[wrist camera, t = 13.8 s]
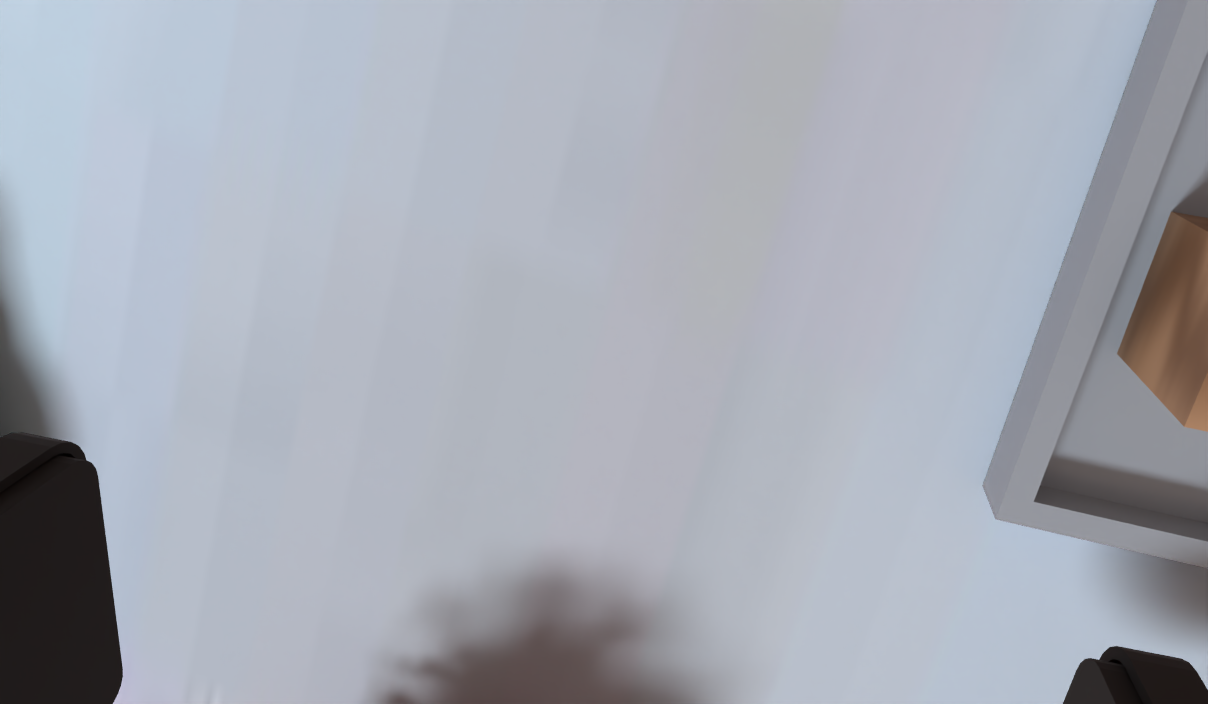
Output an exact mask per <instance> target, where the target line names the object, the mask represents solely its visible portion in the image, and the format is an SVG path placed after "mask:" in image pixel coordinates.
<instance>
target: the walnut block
mask: <svg viewBox="0 0 1208 704" xmlns="http://www.w3.org/2000/svg"><path fill="white" fill-rule="evenodd" d="M1117 354H1118V356H1119V357H1120V358H1121V359H1122V360H1123V361H1124V362H1125V363H1126V364H1127V365H1128V366H1129V367H1130V369H1131V370H1132V371H1133V372H1134V373H1135V374H1136V375H1137V376H1138V377H1139V378H1140V379H1141V381H1142V382H1143V383H1144V384H1145V385H1146V386H1147V387H1148V388H1149V389H1150V390H1151V391H1152V392H1153V394H1154V395H1155V396H1156V397H1157V398H1158V399H1159V400H1160V401H1161V402H1162V403H1163V404H1164V406H1165V407H1166V408H1167V409H1168V410H1169V411H1170V412H1171V413H1172V414H1173V415H1174V416H1175V418H1176V419H1177V420H1178V421H1179V422H1180V423H1181V424H1182V425H1183V426H1184V427H1187V428H1192V429H1197V430H1201V431H1206V432H1208V218H1205V217H1199V216H1194V215H1188V214H1182V213H1176V212H1171V213H1170V216H1169V218H1168V221H1167V223H1166V226H1165V229H1164V231H1163V234H1162V237H1161V239H1160V242H1159V244H1158V247H1157V250H1156V252H1155V255H1154V258H1153V260H1152V263H1151V265H1150V268H1149V271H1148V273H1147V276H1146V279H1145V281H1144V284H1143V286H1142V289H1141V292H1140V294H1139V297H1138V300H1137V302H1136V305H1135V307H1134V310H1133V313H1132V315H1131V318H1130V321H1129V323H1128V326H1127V328H1126V331H1125V334H1124V336H1123V339H1122V342H1121V344H1120V347H1119V349H1118V352H1117Z"/></svg>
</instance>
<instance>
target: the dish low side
mask: <svg viewBox="0 0 1208 704" xmlns="http://www.w3.org/2000/svg"><path fill="white" fill-rule="evenodd" d="M1171 212H1176V213H1182V214H1188V215H1194V216H1199V217H1205V218H1208V0H1157V2H1156V4H1155V7H1154V10H1153V13H1152V16H1151V18H1150V21H1149V24H1148V27H1147V30H1146V32H1145V35H1144V38H1143V41H1142V43H1141V46H1140V49H1139V52H1138V55H1137V57H1136V60H1135V63H1134V66H1133V69H1132V71H1131V74H1130V77H1129V80H1128V82H1127V85H1126V88H1125V91H1124V94H1123V96H1122V99H1121V102H1120V105H1119V107H1118V110H1117V113H1116V116H1115V119H1114V121H1113V124H1112V127H1111V130H1110V133H1109V135H1108V138H1107V141H1106V144H1105V146H1104V149H1103V152H1102V155H1101V158H1100V160H1099V163H1098V166H1097V169H1096V172H1095V174H1094V177H1093V180H1092V183H1091V185H1090V188H1089V191H1088V194H1087V197H1086V199H1085V202H1084V205H1083V208H1082V210H1081V213H1080V216H1079V219H1078V222H1077V224H1076V227H1075V230H1074V233H1073V236H1072V238H1071V241H1070V244H1069V247H1068V249H1067V252H1066V255H1065V258H1064V261H1063V263H1062V266H1061V269H1060V272H1059V275H1058V277H1057V280H1056V283H1055V286H1054V288H1053V291H1052V294H1051V297H1050V300H1049V302H1048V305H1047V308H1046V311H1045V314H1044V316H1043V319H1042V322H1041V325H1040V327H1039V330H1038V333H1037V336H1036V339H1035V341H1034V344H1033V347H1032V350H1031V352H1030V355H1029V358H1028V361H1027V364H1026V366H1025V369H1024V372H1023V375H1022V378H1021V380H1020V383H1019V386H1018V389H1017V391H1016V394H1015V397H1014V400H1013V403H1012V405H1011V408H1010V411H1009V414H1008V417H1007V419H1006V422H1005V425H1004V428H1003V430H1002V433H1001V436H1000V439H999V442H998V444H997V447H996V450H995V453H994V455H993V458H992V461H991V464H990V467H989V469H988V472H987V475H986V478H985V481H984V483H983V488H984V491H985V493H986V496H987V498H988V501H989V504H990V506H991V509H992V511H993V514H994V517H995V519H997V520H1001V521H1005V522H1010V523H1014V524H1018V525H1022V526H1027V527H1031V528H1035V529H1040V530H1044V531H1048V532H1053V533H1057V534H1061V535H1066V536H1070V537H1074V538H1079V539H1083V540H1087V541H1091V542H1096V543H1100V544H1104V545H1109V546H1113V547H1117V548H1122V549H1126V550H1130V551H1135V552H1139V553H1143V554H1147V555H1152V556H1156V557H1160V558H1165V559H1169V560H1173V561H1178V562H1182V563H1186V564H1191V565H1195V566H1199V567H1203V568H1208V432H1206V431H1201V430H1197V429H1192V428H1187V427H1184V426H1183V425H1182V424H1181V423H1180V422H1179V421H1178V420H1177V419H1176V418H1175V416H1174V415H1173V414H1172V413H1171V412H1170V411H1169V410H1168V409H1167V408H1166V407H1165V406H1164V404H1163V403H1162V402H1161V401H1160V400H1159V399H1158V398H1157V397H1156V396H1155V395H1154V394H1153V392H1152V391H1151V390H1150V389H1149V388H1148V387H1147V386H1146V385H1145V384H1144V383H1143V382H1142V381H1141V379H1140V378H1139V377H1138V376H1137V375H1136V374H1135V373H1134V372H1133V371H1132V370H1131V369H1130V367H1129V366H1128V365H1127V364H1126V363H1125V362H1124V361H1123V360H1122V359H1121V358H1120V357H1119V356H1118V354H1117V352H1118V349H1119V347H1120V344H1121V342H1122V339H1123V336H1124V334H1125V331H1126V328H1127V326H1128V323H1129V321H1130V318H1131V315H1132V313H1133V310H1134V307H1135V305H1136V302H1137V300H1138V297H1139V294H1140V292H1141V289H1142V286H1143V284H1144V281H1145V279H1146V276H1147V273H1148V271H1149V268H1150V265H1151V263H1152V260H1153V258H1154V255H1155V252H1156V250H1157V247H1158V244H1159V242H1160V239H1161V237H1162V234H1163V231H1164V229H1165V226H1166V223H1167V221H1168V218H1169V216H1170V213H1171Z"/></svg>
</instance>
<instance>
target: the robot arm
mask: <svg viewBox="0 0 1208 704" xmlns="http://www.w3.org/2000/svg"><path fill="white" fill-rule="evenodd" d="M122 677H123V668H122V661H121V653H120V645H119V637H118V629H117V621H116V614H115V606H114V598H113V590H112V582H111V575H110V567H109V559H108V551H107V543H106V535H105V528H104V520H103V512H102V504H101V496H100V489H99V481H98V475H97V471H96V468H95V467H94V465H93V464H92V463H91V462H89V461H86V458H85V454H84V452H83V451H82V450H81V448H80V447H79V446H78V445H76V444H74V443H72V442H68V441H63V440H57V439H52V438H47V437H42V436H37V435H32V434H27V433H10V434H8V435H6V436H3V437H1V438H0V704H113V702H114V700H115V698H116V696H117V694H118V692H119V689H120V686H121V682H122ZM1063 704H1208V690H1207V688H1206V687H1205V685H1204V683H1203V681H1202V680H1201V678H1200V676H1199V675H1198V673H1197V671H1196V670H1195V669H1194V668H1193V667H1192V665H1191V664H1190V663H1189V662H1187V661H1185V660H1183V659H1180V658H1175V657H1170V656H1165V655H1159V654H1154V653H1149V652H1144V651H1139V650H1134V649H1129V648H1124V647H1118V646H1115V647H1109V648H1108V649H1107V650H1106V651H1105V652H1104V653H1103V654H1102V656H1101V658H1100V660H1096V659H1091V658H1089V659H1085V660H1084V661H1082V662H1081V663H1080V665H1079V667H1078V669H1077V670H1076V673H1075V675H1074V678H1073V680H1072V683H1071V685H1070V688H1069V690H1068V693H1067V695H1066V697H1065V700H1064V702H1063Z"/></svg>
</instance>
